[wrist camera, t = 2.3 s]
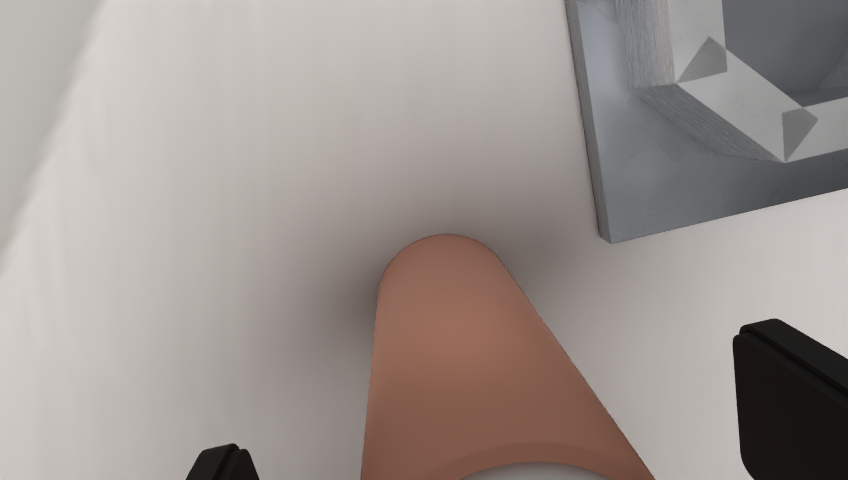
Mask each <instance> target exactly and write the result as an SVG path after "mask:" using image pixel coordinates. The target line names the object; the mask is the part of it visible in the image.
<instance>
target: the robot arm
mask: <svg viewBox="0 0 848 480" xmlns="http://www.w3.org/2000/svg"><path fill="white" fill-rule="evenodd" d="M733 356H734V370H735V384H736V398H737V412H738V425H739V439H740V453H741V458H742V461H743V464H744V466H745V468H746V470H747V471H748V473H749V474H750V475H751V477H752V478H753V479H754V480H848V359H847V358H845V357H843V356H841V355H840V354H838V353H836V352H835V351H833V350H831V349H829V348H828V347H826V346H824V345H822V344H821V343H819V342H817V341H816V340H814V339H812V338H810V337H809V336H807V335H805V334H804V333H802V332H800V331H798V330H797V329H795V328H793V327H792V326H790V325H788V324H786V323H785V322H783V321H781V320H779V319H769V320H764V321H760V322H756V323H752V324H747V325H744V326H742V327H741V329H740V331H739V335H736V336H735V337H734V338H733ZM186 480H259V477H258V474H257V472H256V469H255V466H254V464H253V461H252V459H251V456H250V454H249V452H248V451H247V450H246V449H241V450H240V449H239V447H238V446H237V445H236V444H233V443H232V444H228V445H223V446H219V447H215V448H210V449H206V450H204V451H202V452H201V453H200V455H199V456H198V458H197V460H196V462H195V463H194V465H193V467H192V469H191V471H190V472H189V474H188V476H187V478H186Z"/></svg>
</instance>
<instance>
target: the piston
mask: <svg viewBox="0 0 848 480" xmlns="http://www.w3.org/2000/svg"><path fill="white" fill-rule="evenodd" d="M360 480H655V478H654V477H653V475H652V474H651V473H650V471H649V470H648V468H647V467H646V466H645V464H644V463H643V461H642V460H641V458H640V457H639V456H638V454H637V453H636V451H635V450H634V449H633V447H632V446H631V444H630V443H629V441H628V440H627V439H626V437H625V436H624V434H623V433H622V432H621V430H620V429H619V427H618V426H617V424H616V423H615V422H614V420H613V419H612V417H611V416H610V415H609V413H608V412H607V410H606V409H605V407H604V406H603V405H602V403H601V402H600V400H599V399H598V398H597V396H596V395H595V393H594V392H593V390H592V389H591V388H590V386H589V385H588V383H587V382H586V381H585V379H584V378H583V376H582V375H581V373H580V372H579V371H578V369H577V368H576V366H575V365H574V364H573V362H572V361H571V359H570V358H569V356H568V355H567V354H566V352H565V351H564V349H563V348H562V347H561V345H560V344H559V342H558V341H557V339H556V338H555V337H554V335H553V334H552V332H551V331H550V330H549V328H548V327H547V325H546V324H545V322H544V321H543V320H542V318H541V317H540V315H539V314H538V313H537V311H536V310H535V308H534V307H533V305H532V304H531V303H530V301H529V300H528V298H527V297H526V296H525V294H524V293H523V291H522V290H521V288H520V287H519V286H518V284H517V283H516V281H515V280H514V278H513V277H512V276H511V274H510V273H509V271H508V270H507V269H506V267H505V266H504V264H503V263H502V262H501V260H500V259H499V258H498V257H497V255H496V254H495V253H493V252H492V251H491V250H490V249H489V248H487V247H486V246H485V245H483V244H481V243H479V242H478V241H476V240H473V239H470V238H468V237H464V236H459V235H450V234H447V235H436V236H430V237H427V238H424V239H421V240H419V241H416V242H414V243H412V244H411V245H409V246H407V247H406V248H405V249H403V250H402V251H401V252H400V253H398V254H397V256H396V257H395V258H394V259H393V260H392V261H391V262H390V264H389V265H388V267H387V268H386V270H385V272H384V274H383V276H382V279H381V282H380V285H379V290H378V298H377V309H376V320H375V330H374V341H373V352H372V362H371V373H370V384H369V394H368V405H367V416H366V426H365V437H364V448H363V458H362V469H361V479H360Z"/></svg>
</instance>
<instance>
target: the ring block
mask: <svg viewBox="0 0 848 480" xmlns="http://www.w3.org/2000/svg"><path fill="white" fill-rule="evenodd" d="M565 3H566V10H567V17H568V24H569V30H570V37H571V44H572V50H573V57H574V64H575V70H576V77H577V84H578V91H579V97H580V104H581V111H582V117H583V124H584V131H585V137H586V144H587V151H588V157H589V164H590V171H591V178H592V184H593V191H594V198H595V204H596V211H597V218H598V224H599V231H600V237H601V238H602V239H604V240H606V241H607V242H609V243H611V244H614V243H618V242H622V241H627V240H631V239H635V238H639V237H643V236H648V235H652V234H656V233H660V232H665V231H669V230H673V229H677V228H681V227H686V226H690V225H694V224H698V223H702V222H707V221H711V220H715V219H719V218H723V217H728V216H732V215H736V214H740V213H745V212H749V211H753V210H757V209H761V208H766V207H770V206H774V205H778V204H782V203H787V202H791V201H795V200H799V199H803V198H808V197H812V196H816V195H820V194H824V193H829V192H833V191H837V190H841V189H846V188H848V0H565Z"/></svg>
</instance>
